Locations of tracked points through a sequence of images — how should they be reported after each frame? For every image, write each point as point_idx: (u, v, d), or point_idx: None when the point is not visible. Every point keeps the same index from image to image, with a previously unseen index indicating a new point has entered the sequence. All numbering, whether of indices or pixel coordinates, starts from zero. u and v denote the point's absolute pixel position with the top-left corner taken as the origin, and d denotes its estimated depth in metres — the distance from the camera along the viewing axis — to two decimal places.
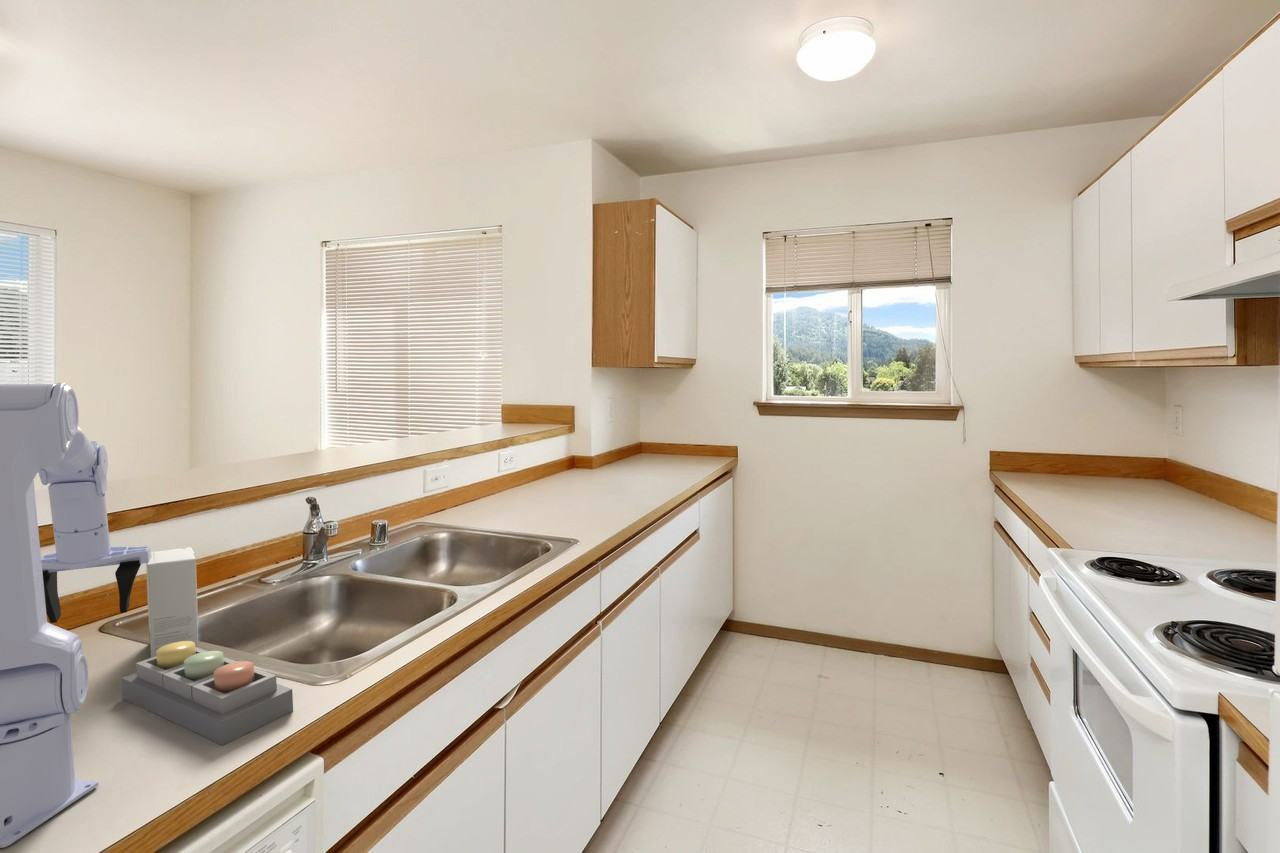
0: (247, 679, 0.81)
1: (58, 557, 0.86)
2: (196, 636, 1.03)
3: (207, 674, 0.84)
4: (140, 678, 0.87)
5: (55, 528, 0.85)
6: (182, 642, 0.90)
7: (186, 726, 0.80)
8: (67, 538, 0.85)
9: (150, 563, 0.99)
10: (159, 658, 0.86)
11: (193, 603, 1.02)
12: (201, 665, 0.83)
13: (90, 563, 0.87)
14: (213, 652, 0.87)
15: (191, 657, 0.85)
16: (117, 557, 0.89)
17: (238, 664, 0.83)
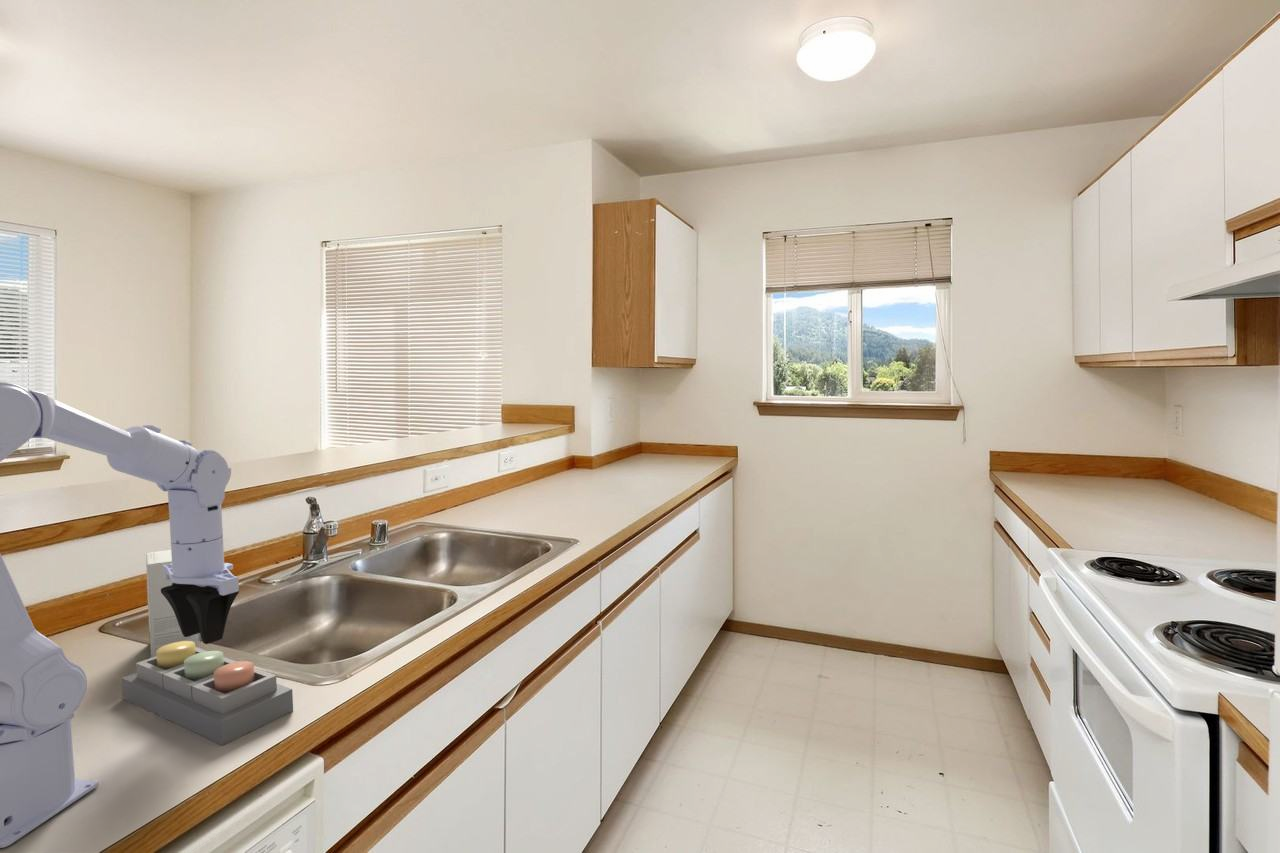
0: (247, 679, 0.81)
1: None
2: (196, 636, 1.03)
3: (207, 674, 0.84)
4: (140, 678, 0.87)
5: None
6: (182, 642, 0.90)
7: (186, 726, 0.80)
8: (171, 548, 0.82)
9: (150, 563, 0.99)
10: (159, 658, 0.86)
11: None
12: (201, 665, 0.83)
13: (180, 580, 0.81)
14: (213, 652, 0.87)
15: (191, 657, 0.85)
16: (201, 580, 0.81)
17: (238, 664, 0.83)
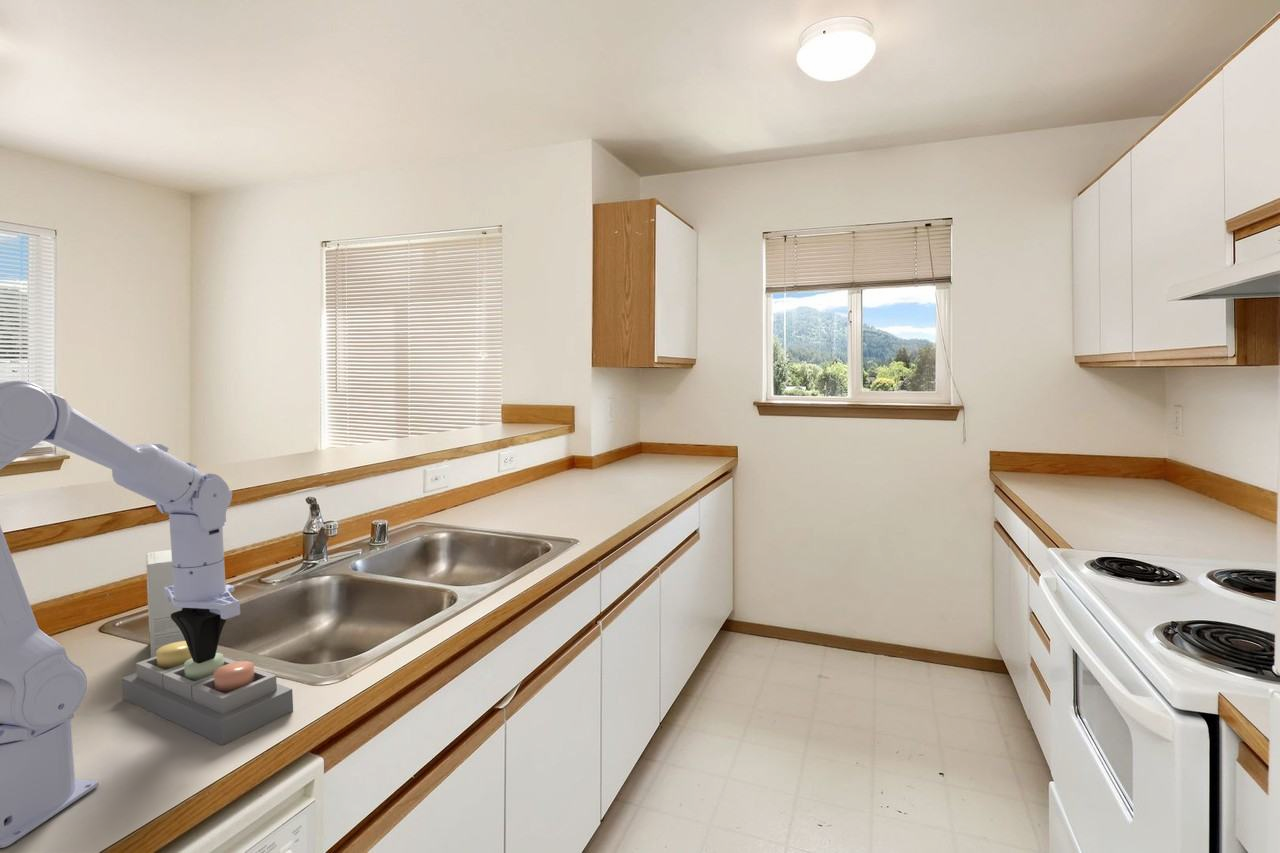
0: (247, 679, 0.81)
1: None
2: None
3: None
4: (140, 678, 0.87)
5: None
6: (182, 642, 0.90)
7: (186, 726, 0.80)
8: None
9: (150, 563, 0.99)
10: (159, 658, 0.86)
11: None
12: (201, 667, 0.83)
13: (182, 603, 0.81)
14: None
15: (191, 660, 0.85)
16: (202, 604, 0.81)
17: (238, 664, 0.83)
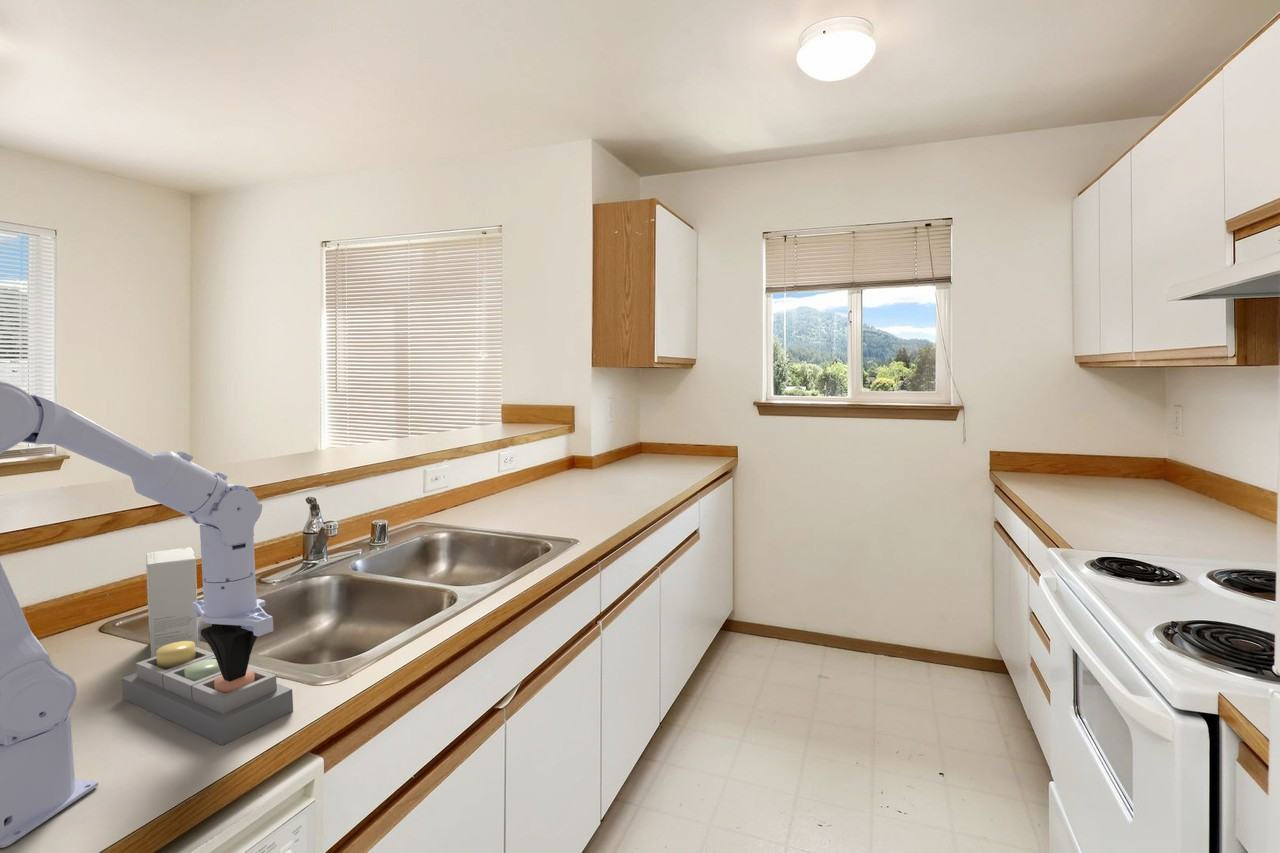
0: None
1: None
2: (196, 636, 1.03)
3: None
4: (140, 678, 0.87)
5: None
6: (182, 642, 0.90)
7: (186, 726, 0.80)
8: (203, 586, 0.79)
9: (150, 563, 0.99)
10: (159, 658, 0.86)
11: None
12: (201, 673, 0.83)
13: (213, 620, 0.78)
14: (213, 660, 0.87)
15: (192, 666, 0.85)
16: (234, 620, 0.78)
17: None
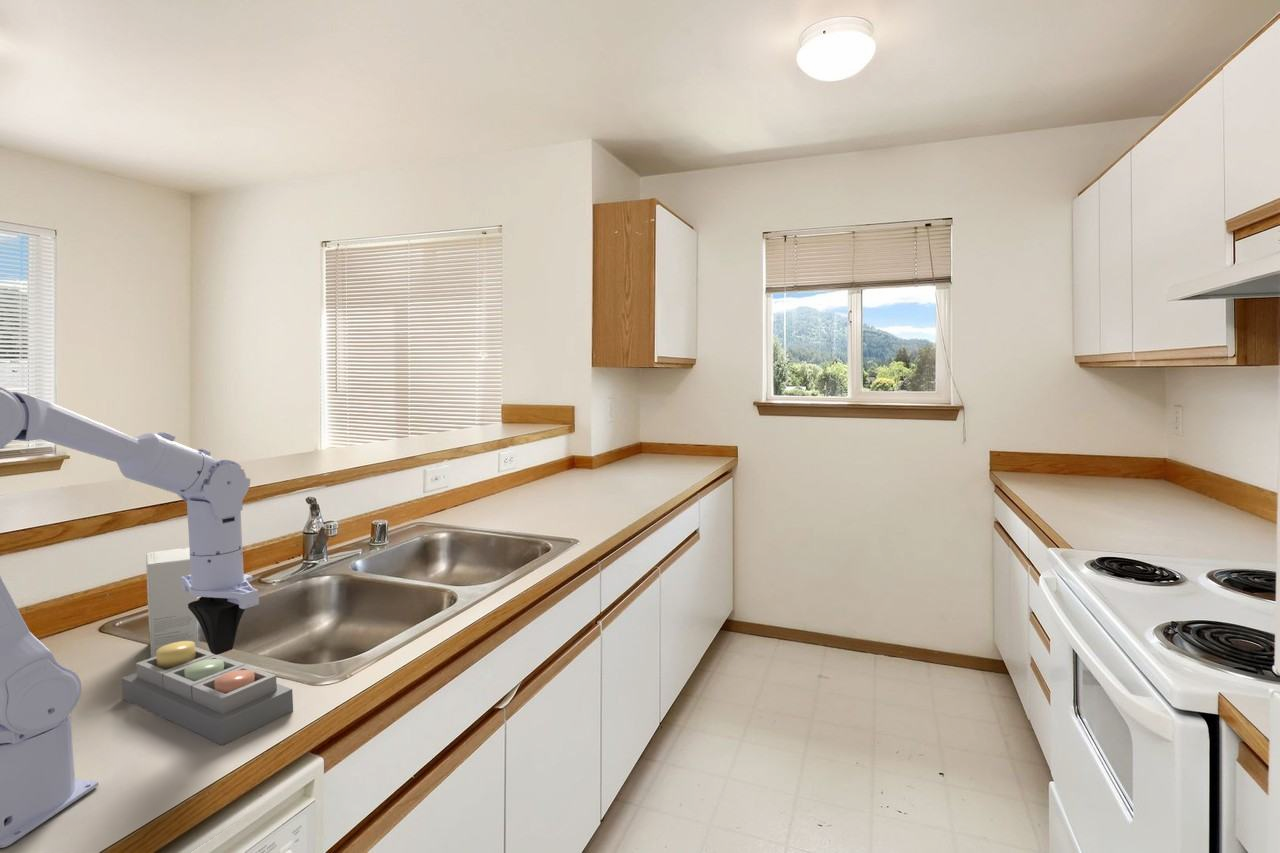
0: None
1: None
2: (196, 636, 1.03)
3: None
4: (140, 678, 0.87)
5: None
6: (182, 642, 0.90)
7: (186, 726, 0.80)
8: (190, 560, 0.80)
9: (150, 563, 0.99)
10: (159, 658, 0.86)
11: None
12: (201, 673, 0.83)
13: (200, 592, 0.79)
14: (213, 660, 0.87)
15: (192, 666, 0.85)
16: (220, 593, 0.79)
17: (238, 673, 0.83)
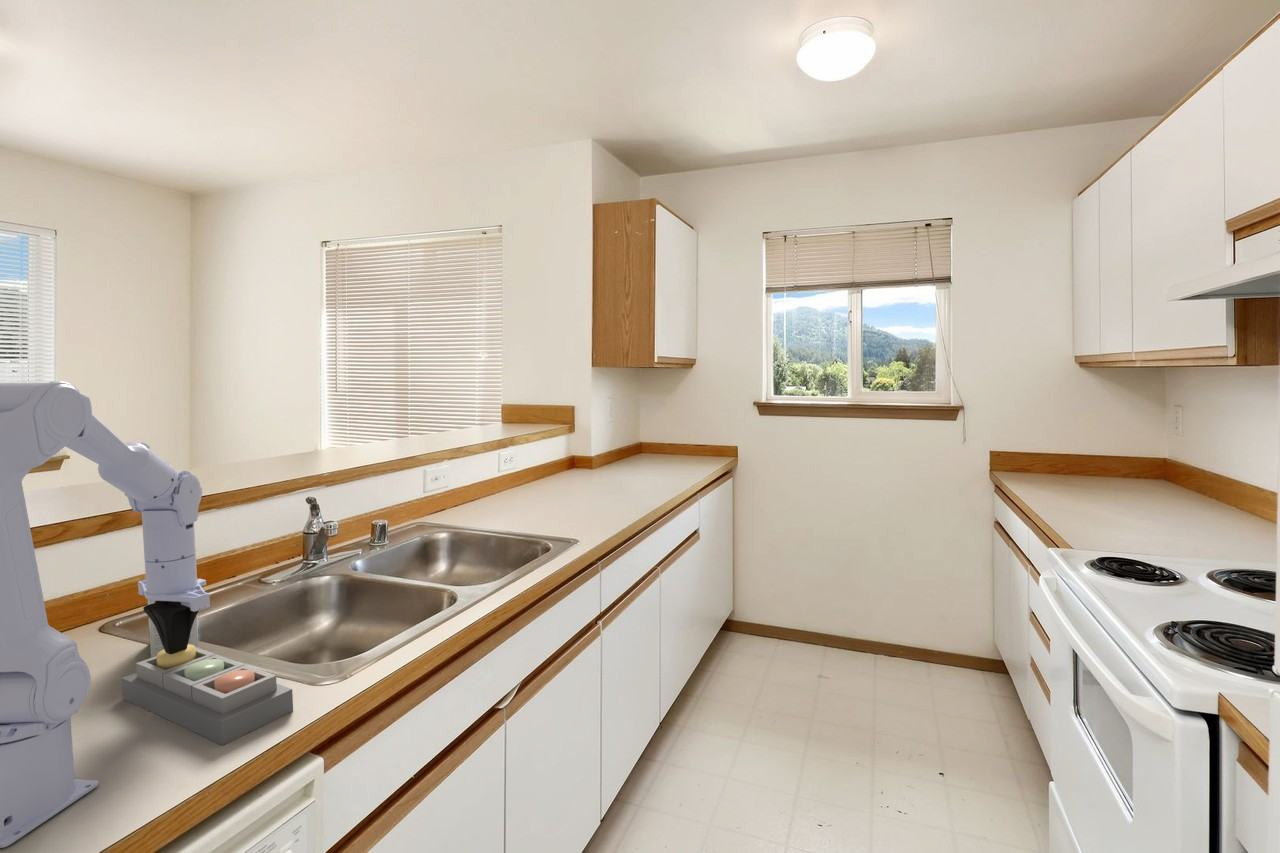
0: None
1: None
2: (196, 636, 1.03)
3: None
4: (140, 678, 0.87)
5: (144, 556, 0.86)
6: None
7: (186, 726, 0.80)
8: (145, 565, 0.85)
9: None
10: (159, 661, 0.86)
11: None
12: (201, 673, 0.83)
13: (154, 596, 0.85)
14: (213, 660, 0.87)
15: (192, 666, 0.85)
16: (173, 597, 0.84)
17: (238, 673, 0.83)
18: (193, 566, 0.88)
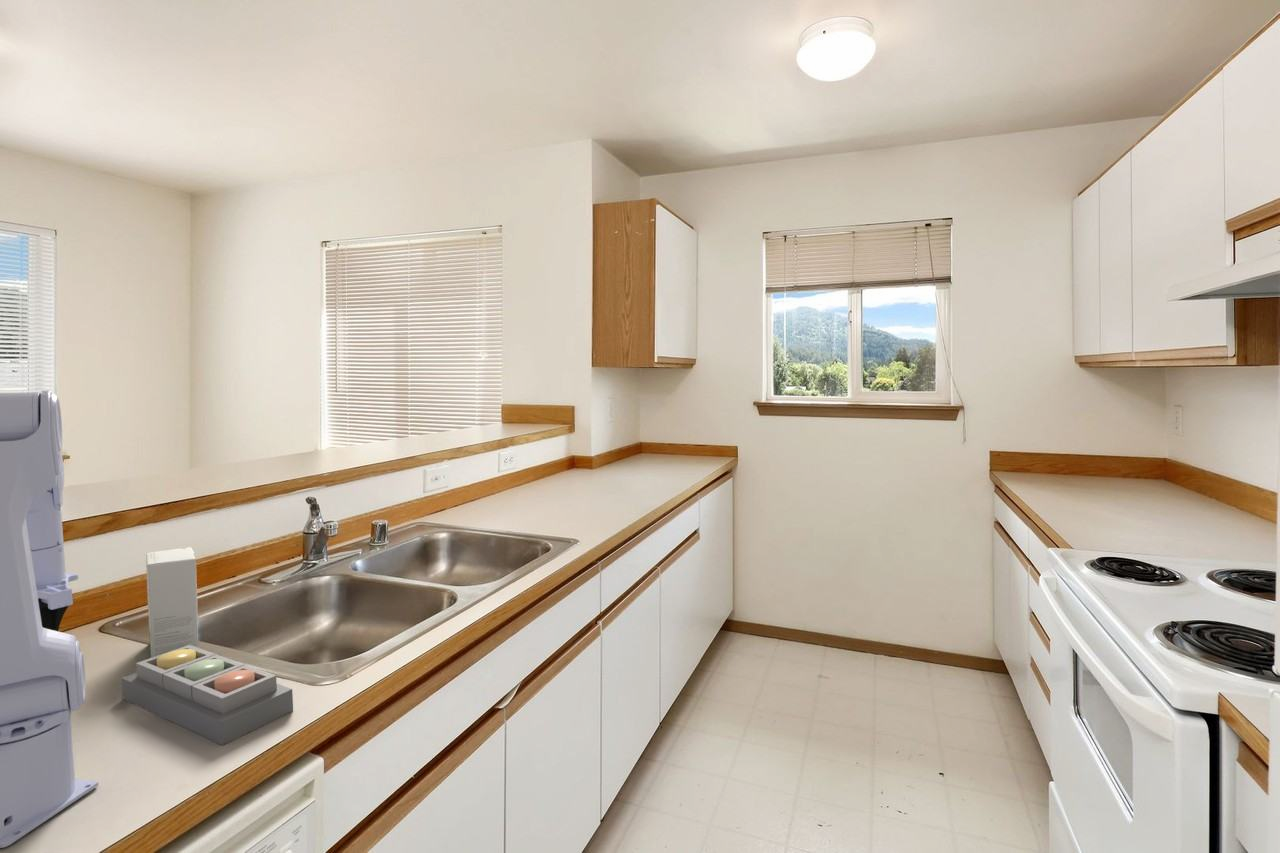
0: None
1: None
2: (196, 636, 1.03)
3: None
4: (140, 678, 0.87)
5: None
6: (183, 650, 0.90)
7: (186, 726, 0.80)
8: None
9: (150, 563, 0.99)
10: (159, 666, 0.86)
11: (193, 603, 1.02)
12: (201, 673, 0.83)
13: None
14: (213, 660, 0.87)
15: (192, 666, 0.85)
16: None
17: (238, 673, 0.83)
18: (58, 558, 0.77)
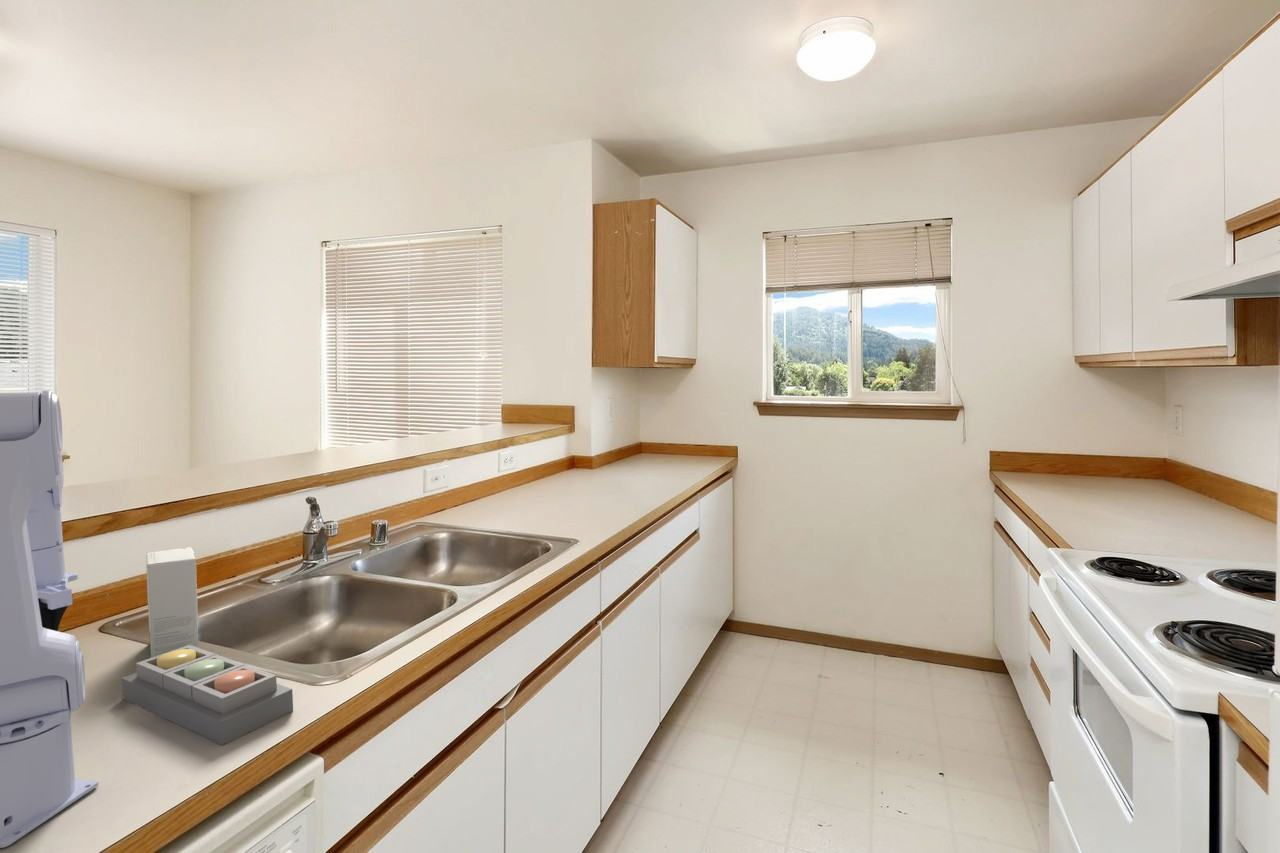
0: None
1: None
2: (196, 636, 1.03)
3: None
4: (140, 678, 0.87)
5: None
6: (183, 650, 0.90)
7: (186, 726, 0.80)
8: None
9: (150, 563, 0.99)
10: (159, 666, 0.86)
11: (193, 603, 1.02)
12: (201, 673, 0.83)
13: None
14: (213, 660, 0.87)
15: (192, 666, 0.85)
16: None
17: (238, 673, 0.83)
18: (58, 558, 0.77)
